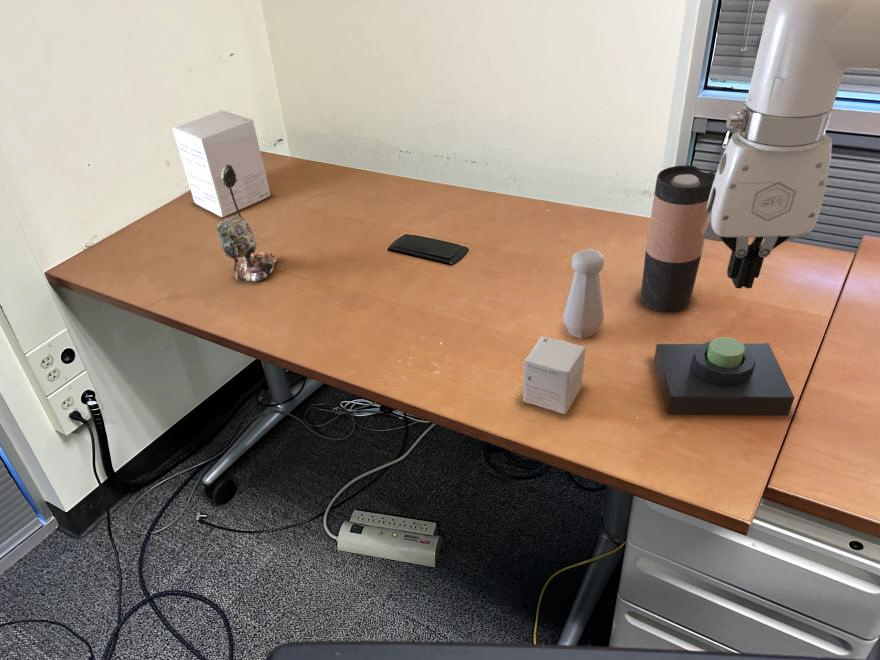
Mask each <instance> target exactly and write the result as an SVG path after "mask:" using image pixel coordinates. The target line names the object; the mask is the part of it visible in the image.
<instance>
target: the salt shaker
mask: <svg viewBox="0 0 880 660" xmlns="http://www.w3.org/2000/svg"><path fill="white" fill-rule="evenodd" d="M604 264H605V257H604V255H603V254H602V253H601V252H600V251H599V250H597V249H592V248H584V249H581V250H578V251H576V252H575V253H574V254H572V259H571V268H572V271H574V274H573V277H572V281H571V285H570V289H569V292H568V296H567V300H566V304H565V307H564V311H563V314H562V322H563V324H564V325H565V327H566V329H567V331H568V334H569V335H570V336H572V337H575V338H577V339H580V340H581V339H587V338H591V337H594V336H595V334H596V333H597V331H598V330H599V328H600V327H601V326H602V325H603V323H604V319H605V314H604V306H603V304H604V303H603V297H602V287H601V279H600V273H601V271H602V270H603V268H604V266H605V265H604Z"/></svg>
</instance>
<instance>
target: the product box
mask: <svg viewBox="0 0 880 660" xmlns="http://www.w3.org/2000/svg"><path fill="white" fill-rule="evenodd" d="M586 349H587V347H586V346H584V345H580V344H576V343H573V342H569V341H566V340H563V339H556V338H552V337H548V336H545V335H541V337H540V338H539V340H538V341H537V343H535V345H534V347H533V348H532V350H531V351H530V352H529V354H528V355H527V357H526V358H525V359H524V368H523V369H524V370H523V395H522V397H523V398H522V401H523V402H524V403H526V404H530V405H533V406H536V407H540V408H543V409H546V410H548V411H553V412H555V413H559V414H561V415H567V413H568V412H569V410H570V408H571V406H572V404H573V402H574V401H575V399H576V398H577V396H578V394H579V392H580V391H581V390H582V384H583V377H584V368H585V367H584V366H585V357H586Z"/></svg>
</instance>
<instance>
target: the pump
mask: <svg viewBox="0 0 880 660" xmlns="http://www.w3.org/2000/svg"><path fill="white" fill-rule="evenodd" d="M710 341H711V342H710V345H709V349H708V353H707V360H708V362H710V363H711V364H713V365H715V366H719V367H722V368H735V367H738V366H739V365H740V364H741V362H742V358H743V355H744V351H745V347H744V345H743V344H742V342H741V341H739V340H738V339H735V338H732V337H728V336H727V337H726V336H721V337H716V338H713V339H711V340H710Z"/></svg>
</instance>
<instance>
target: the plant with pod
mask: <svg viewBox="0 0 880 660" xmlns="http://www.w3.org/2000/svg"><path fill="white" fill-rule="evenodd" d="M221 178H222V181H223V183H224V185H225V186H226V187H227V188H229V189H230V193H231V196H232V199H233V201H234V205H235V207H236V210H237V211H236V213H237V214H234V215H232V216H230V217H226V218H224V219H223V220H221V221H220V222H219V223H218V225H217V227H216V229H217V233H218V236H219V237H218V238H219V242H220V245H221V248H222V251H223V253H224V254H225V256H226V258H229V259H232V260H233V261H234V262H233V263H234V265H233V270H234V274H235V280H241V281H245V282H248V281H249V282H259V281H262V280H264V279H266V278H267V277H268V276H269V275H270V274H271V273H272V272H273V271H274V267H275V265H276V264H277V262H276V261H278V260H279V259H278V258H277V256H275V255H273V253H269V254H268V253H266V252H265V251H261V252H260V253H255V252H256V250H257V248H258V247H257V245H258V244H257V241H256V237H255V234H254V232H253V230H252V228H251V226H250V224H249V223H248V221H247V220H246V218H245V217H243V216H242V215H241V213H240V210H238V208H237V204H236V202H235V199H234V196H233V192H232V188H231V187H233V186H234V185H235V182H237V180H236V174H235V171H234V170H233V168H232V166H231V165H226V166H225V167H224V169H223V171H222V173H221ZM214 224H217V223H216V221H214ZM239 258H242V259H243V260H244V262H242V263H241V264H240V265H239Z"/></svg>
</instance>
